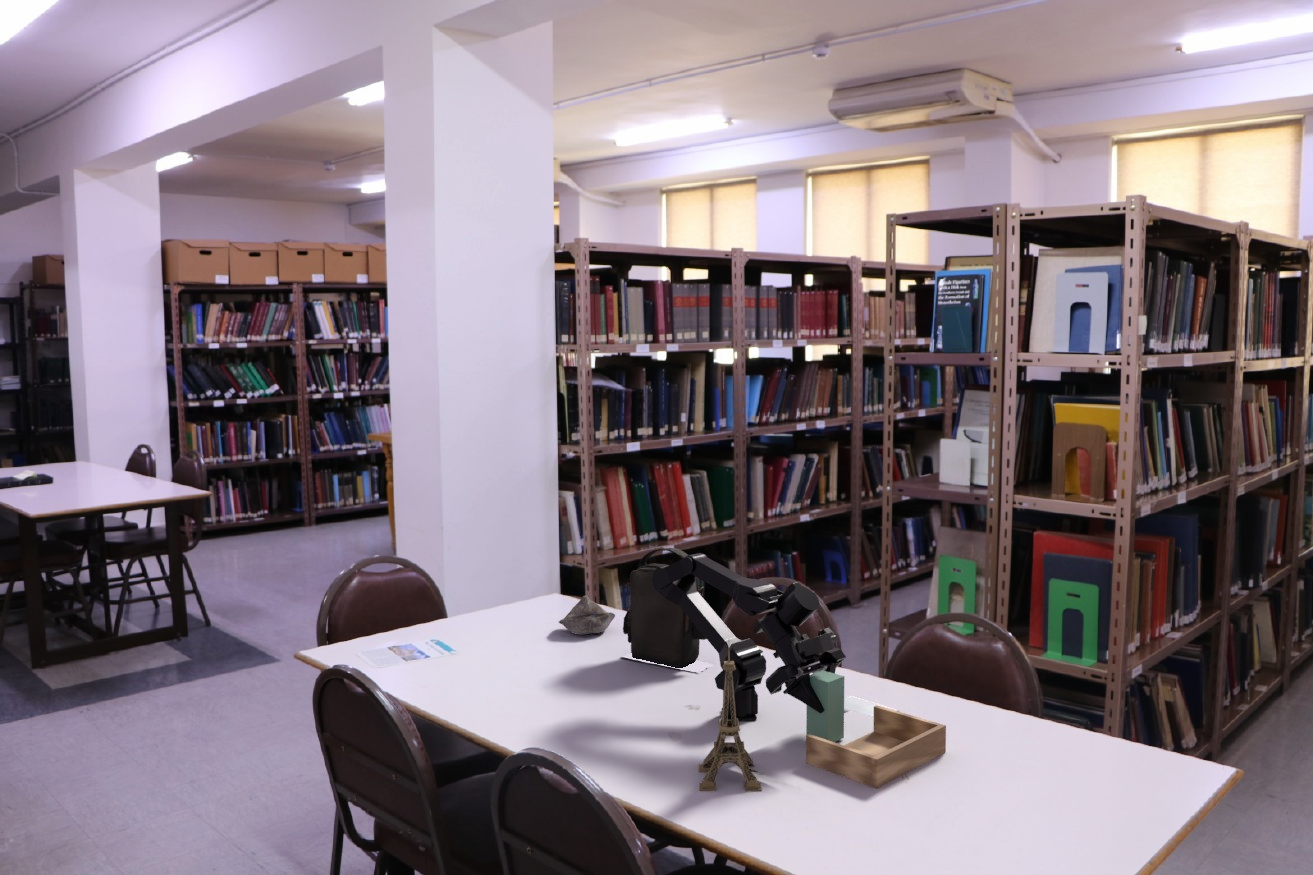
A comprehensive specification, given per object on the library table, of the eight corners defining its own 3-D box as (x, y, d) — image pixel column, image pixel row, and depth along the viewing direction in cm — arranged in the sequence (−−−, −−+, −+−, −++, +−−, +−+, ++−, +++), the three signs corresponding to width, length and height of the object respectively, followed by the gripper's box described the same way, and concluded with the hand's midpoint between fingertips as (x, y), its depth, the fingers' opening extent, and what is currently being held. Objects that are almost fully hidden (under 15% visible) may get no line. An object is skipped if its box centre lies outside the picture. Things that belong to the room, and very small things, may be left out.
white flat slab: (826, 703, 209) (876, 719, 200) (850, 694, 215) (899, 708, 205) (826, 711, 209) (876, 727, 200) (850, 702, 215) (899, 716, 206)
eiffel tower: (698, 766, 181) (698, 630, 179) (757, 766, 181) (757, 631, 178) (699, 791, 170) (698, 648, 168) (761, 791, 170) (761, 648, 168)
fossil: (552, 638, 264) (551, 601, 263) (565, 624, 278) (565, 588, 277) (608, 640, 261) (608, 602, 260) (619, 625, 275) (619, 590, 274)
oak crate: (806, 768, 179) (806, 735, 179) (876, 735, 194) (876, 705, 194) (876, 794, 168) (877, 759, 168) (945, 757, 183) (946, 725, 183)
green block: (806, 737, 190) (806, 676, 189) (822, 730, 193) (822, 670, 192) (827, 745, 186) (828, 682, 185) (843, 737, 190) (844, 676, 189)
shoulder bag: (717, 664, 240) (716, 549, 238) (697, 674, 233) (697, 555, 230) (640, 649, 253) (638, 540, 250) (619, 658, 245) (617, 546, 243)
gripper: (777, 625, 184) (825, 698, 177) (838, 607, 197) (885, 675, 190) (745, 658, 191) (790, 729, 183) (806, 638, 203) (850, 704, 196)
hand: (831, 708), depth 188 cm, fingers closed on green block, 5 cm apart
